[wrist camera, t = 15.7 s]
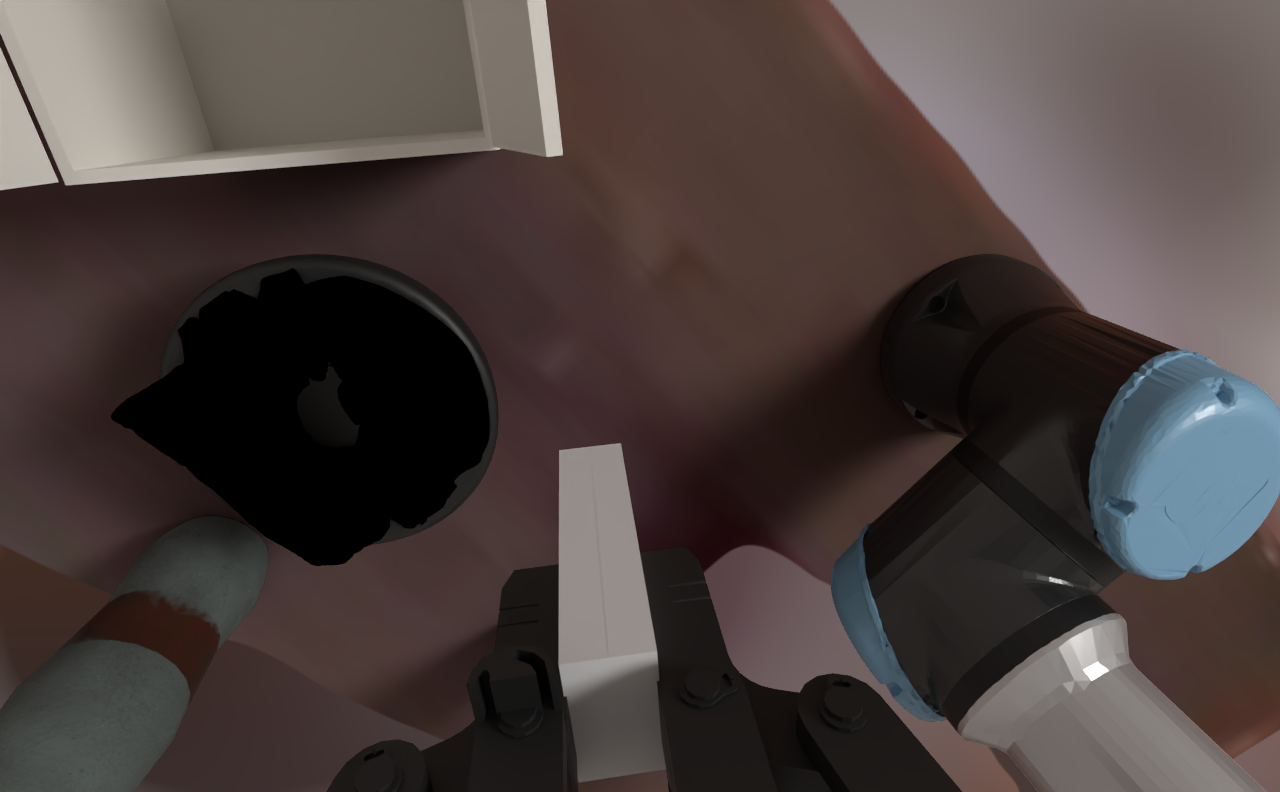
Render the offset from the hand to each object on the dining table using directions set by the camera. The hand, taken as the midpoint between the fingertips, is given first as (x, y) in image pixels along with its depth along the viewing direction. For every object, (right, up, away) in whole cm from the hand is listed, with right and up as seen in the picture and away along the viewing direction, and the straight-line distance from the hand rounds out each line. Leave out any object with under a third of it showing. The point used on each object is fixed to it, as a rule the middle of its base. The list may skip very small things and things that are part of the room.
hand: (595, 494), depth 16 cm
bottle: (-35, -11, +39) cm, 54 cm away
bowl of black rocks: (-19, +5, +33) cm, 39 cm away
